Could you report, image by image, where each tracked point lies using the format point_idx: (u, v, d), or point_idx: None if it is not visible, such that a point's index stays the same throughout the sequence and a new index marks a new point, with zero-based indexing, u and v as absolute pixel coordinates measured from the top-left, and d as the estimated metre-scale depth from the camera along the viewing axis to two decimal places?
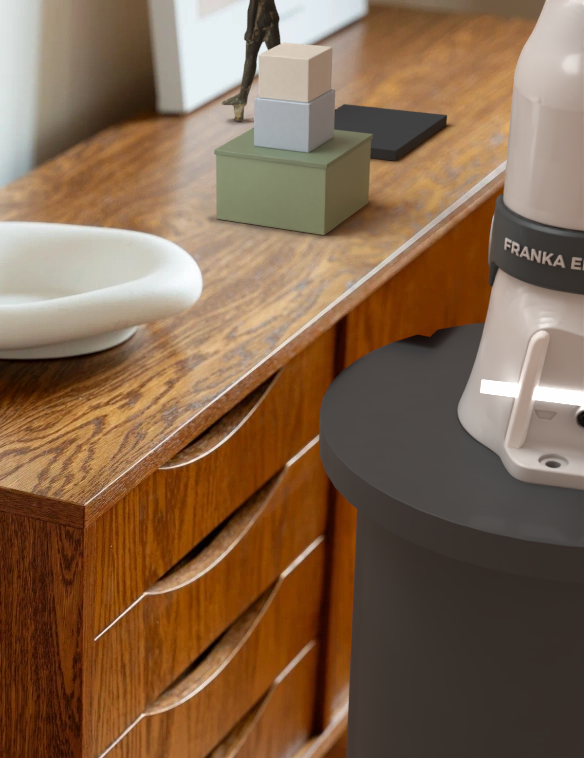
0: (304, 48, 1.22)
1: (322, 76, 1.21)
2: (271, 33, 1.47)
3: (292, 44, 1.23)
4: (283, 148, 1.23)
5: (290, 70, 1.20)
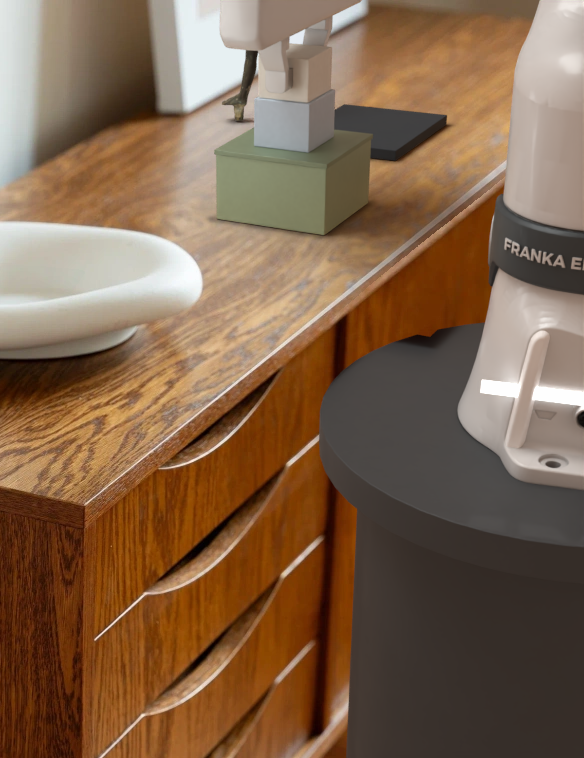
0: (304, 48, 1.22)
1: (321, 76, 1.21)
2: None
3: (292, 44, 1.23)
4: (283, 148, 1.23)
5: None
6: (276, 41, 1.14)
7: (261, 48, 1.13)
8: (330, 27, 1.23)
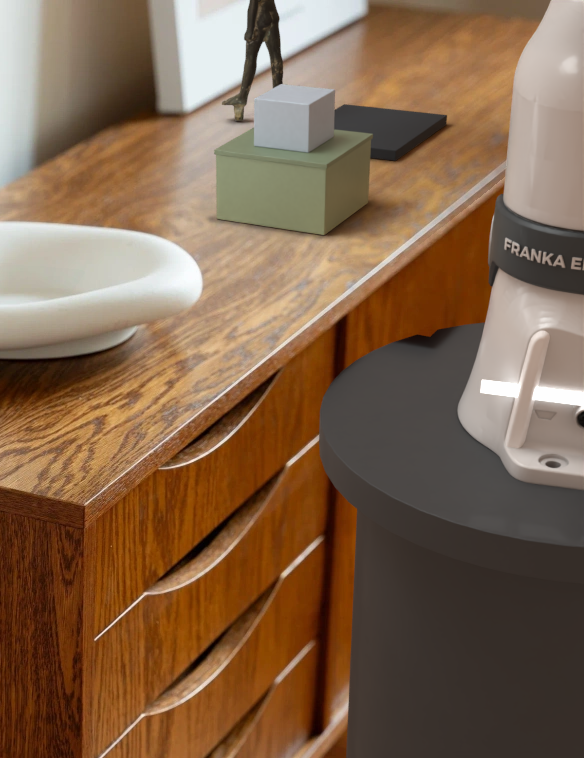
0: None
1: None
2: (271, 33, 1.47)
3: None
4: (283, 148, 1.23)
5: None
6: None
7: None
8: None
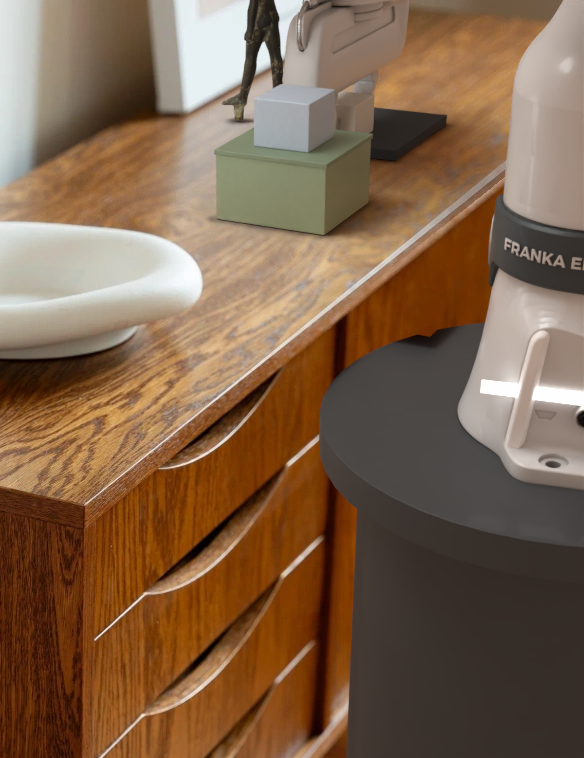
0: (350, 96, 1.42)
1: (366, 120, 1.42)
2: (271, 33, 1.47)
3: (339, 92, 1.44)
4: (283, 148, 1.23)
5: (339, 115, 1.40)
6: None
7: None
8: (376, 79, 1.44)
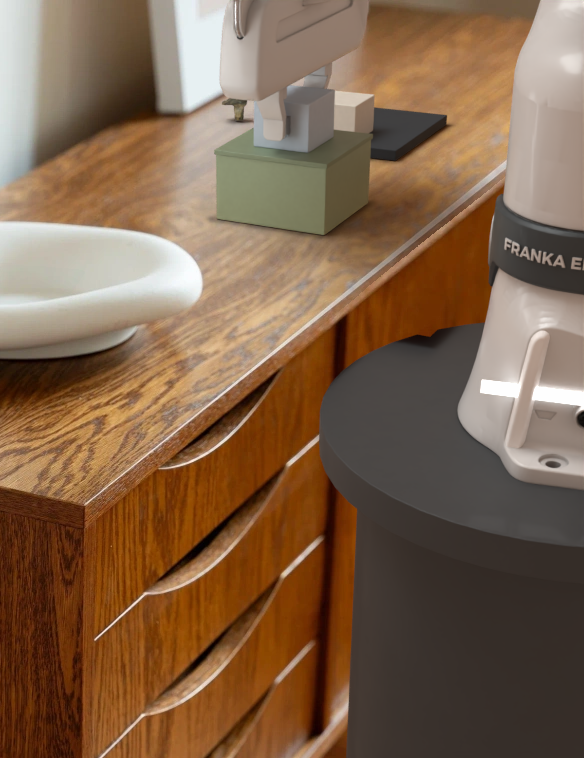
0: (350, 96, 1.42)
1: (366, 120, 1.42)
2: None
3: (339, 92, 1.44)
4: (283, 148, 1.23)
5: (339, 115, 1.40)
6: (275, 91, 1.16)
7: (260, 98, 1.14)
8: (330, 73, 1.25)
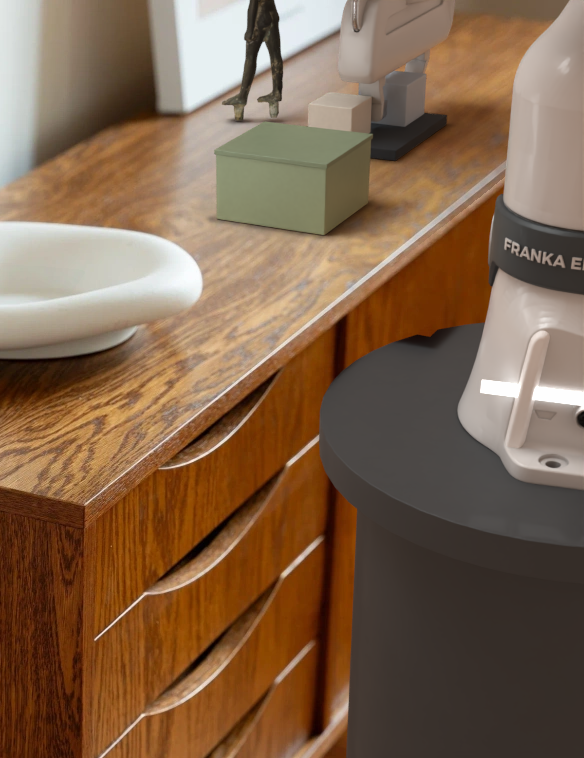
0: (347, 97, 1.41)
1: (362, 122, 1.41)
2: (271, 33, 1.47)
3: (337, 93, 1.43)
4: (383, 123, 1.45)
5: (335, 118, 1.40)
6: (383, 75, 1.39)
7: (372, 82, 1.37)
8: (428, 58, 1.49)
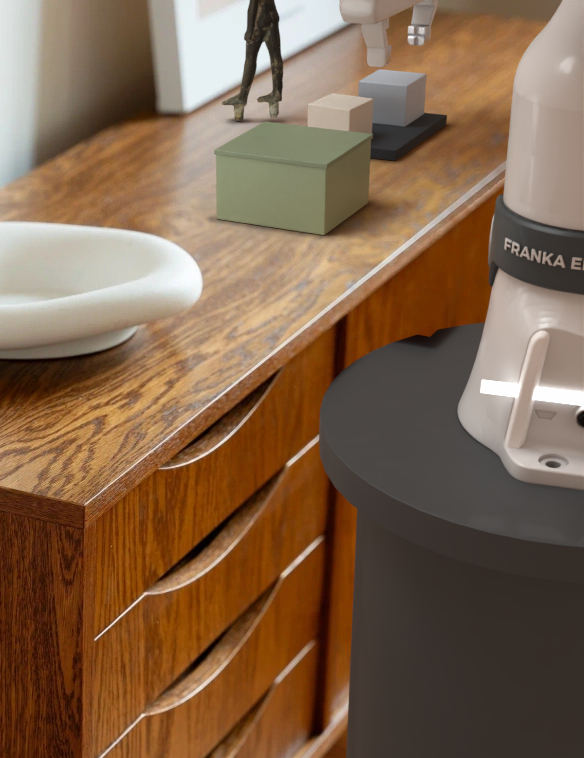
0: (348, 99, 1.41)
1: (362, 124, 1.41)
2: (271, 33, 1.47)
3: (339, 95, 1.43)
4: (383, 123, 1.45)
5: (334, 119, 1.39)
6: (387, 16, 1.33)
7: (376, 22, 1.32)
8: (436, 3, 1.44)
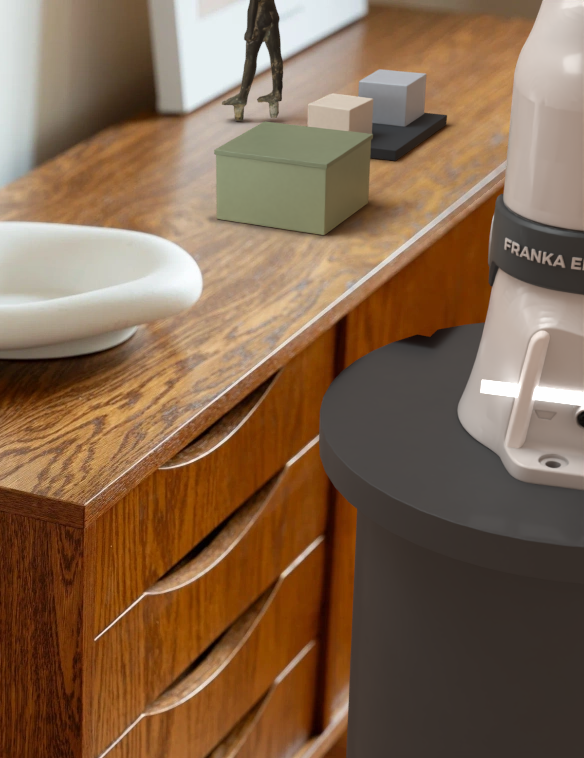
0: (348, 99, 1.41)
1: (362, 124, 1.41)
2: (271, 33, 1.47)
3: (339, 95, 1.43)
4: (383, 123, 1.45)
5: (334, 119, 1.39)
6: None
7: None
8: None
